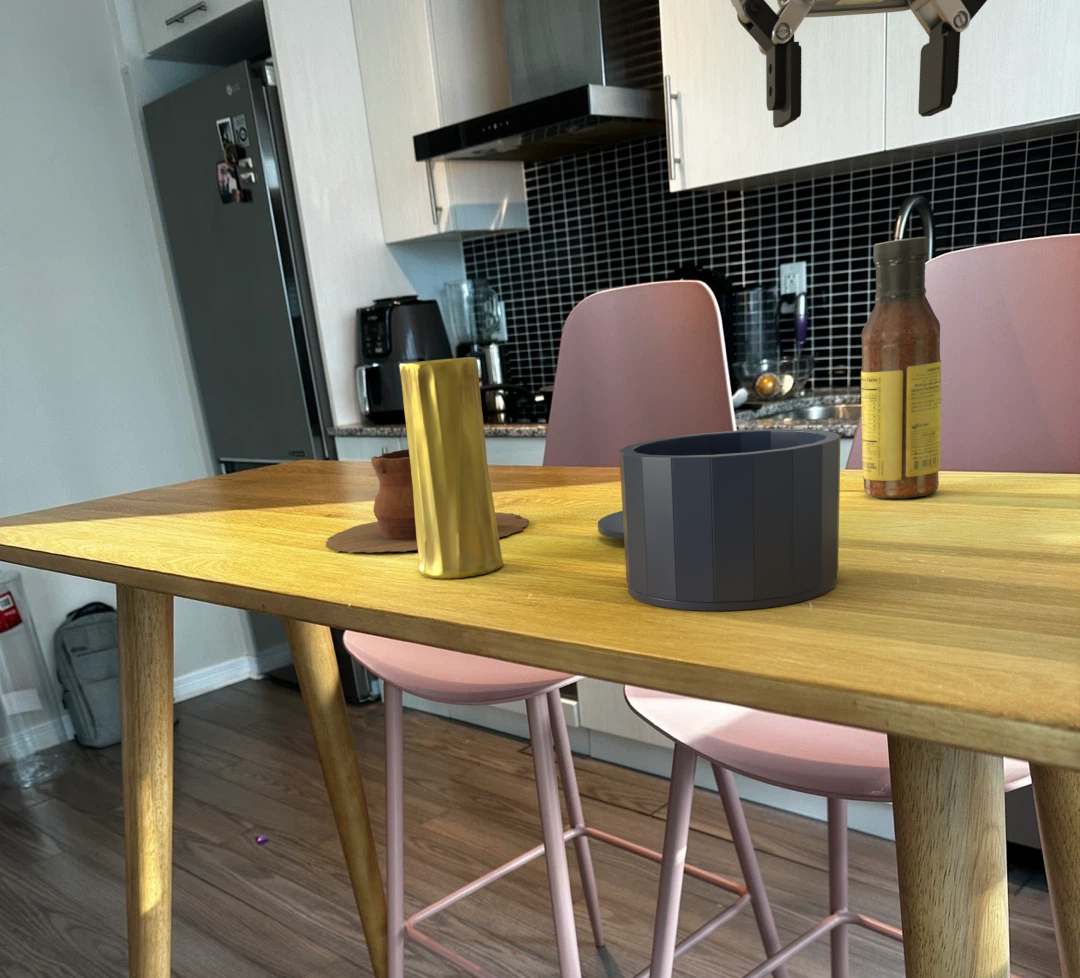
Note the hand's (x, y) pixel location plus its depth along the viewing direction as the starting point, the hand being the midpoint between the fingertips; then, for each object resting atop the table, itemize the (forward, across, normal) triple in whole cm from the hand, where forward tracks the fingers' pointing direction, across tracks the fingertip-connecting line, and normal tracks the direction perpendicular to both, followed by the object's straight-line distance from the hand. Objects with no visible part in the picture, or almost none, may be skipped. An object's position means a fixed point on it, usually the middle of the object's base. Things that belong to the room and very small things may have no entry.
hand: (861, 117), depth 64 cm
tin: (+26, -12, -10) cm, 31 cm away
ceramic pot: (+26, -30, +20) cm, 45 cm away
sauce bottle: (+26, +10, +14) cm, 32 cm away
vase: (+26, -28, +3) cm, 39 cm away
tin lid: (+26, -10, +8) cm, 29 cm away
